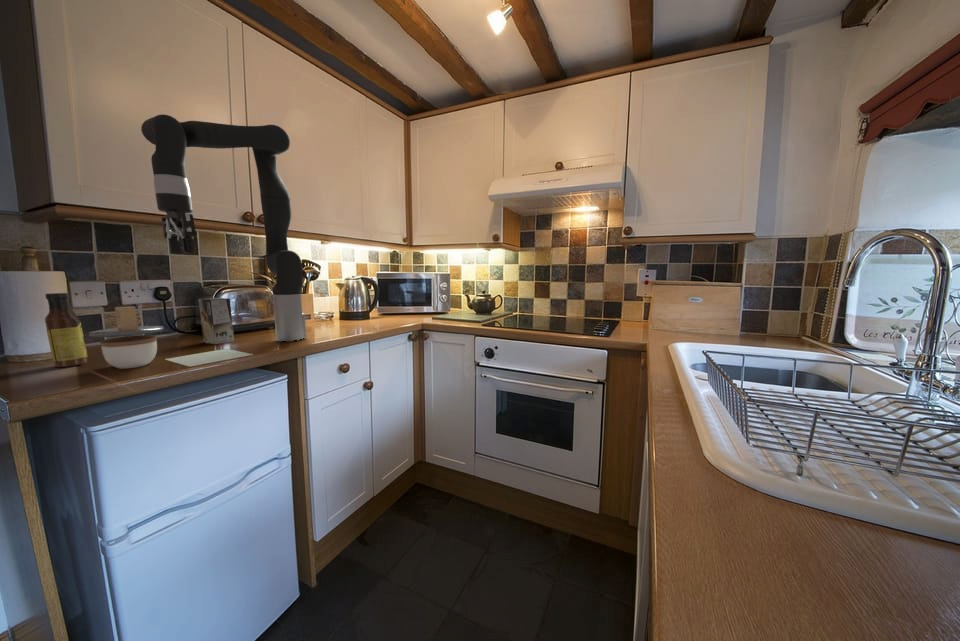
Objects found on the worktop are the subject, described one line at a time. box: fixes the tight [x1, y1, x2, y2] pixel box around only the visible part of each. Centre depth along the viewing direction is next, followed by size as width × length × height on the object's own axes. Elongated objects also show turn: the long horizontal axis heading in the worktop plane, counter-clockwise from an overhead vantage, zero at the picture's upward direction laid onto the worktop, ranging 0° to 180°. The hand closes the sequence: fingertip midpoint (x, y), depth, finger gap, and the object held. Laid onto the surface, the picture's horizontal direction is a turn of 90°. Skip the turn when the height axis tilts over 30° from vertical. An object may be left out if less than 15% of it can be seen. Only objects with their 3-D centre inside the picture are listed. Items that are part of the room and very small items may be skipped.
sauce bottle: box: [44, 292, 88, 368], centre depth 94 cm, size 7×6×20 cm
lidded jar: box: [99, 334, 158, 369], centre depth 94 cm, size 11×11×9 cm
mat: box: [164, 348, 254, 367], centre depth 104 cm, size 16×16×1 cm
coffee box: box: [198, 297, 235, 345], centre depth 126 cm, size 9×6×16 cm
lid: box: [88, 306, 165, 338], centre depth 93 cm, size 14×14×7 cm
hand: (182, 253), depth 100 cm, fingers open, 8 cm apart
